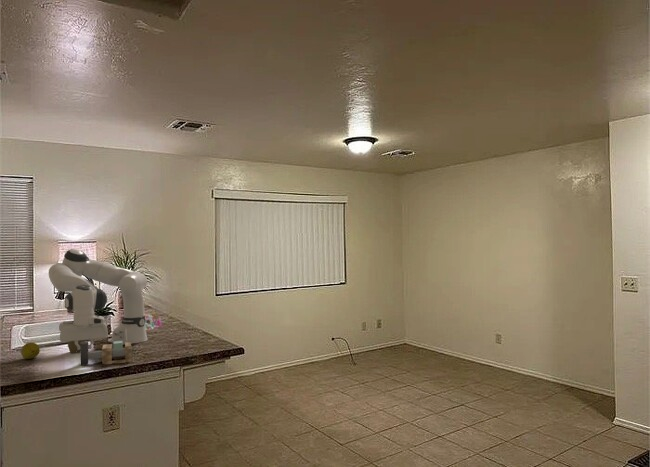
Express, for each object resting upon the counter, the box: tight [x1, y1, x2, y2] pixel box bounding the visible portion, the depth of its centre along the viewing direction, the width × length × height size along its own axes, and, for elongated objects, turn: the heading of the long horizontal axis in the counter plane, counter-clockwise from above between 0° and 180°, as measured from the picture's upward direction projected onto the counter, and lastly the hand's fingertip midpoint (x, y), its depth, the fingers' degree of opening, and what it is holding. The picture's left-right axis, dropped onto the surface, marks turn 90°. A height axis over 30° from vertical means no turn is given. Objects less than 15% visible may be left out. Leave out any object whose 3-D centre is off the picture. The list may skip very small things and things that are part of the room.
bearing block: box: [101, 342, 132, 365], centre depth 227 cm, size 12×9×8 cm
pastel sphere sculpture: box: [144, 312, 163, 332], centre depth 310 cm, size 25×24×9 cm
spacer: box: [112, 341, 124, 351], centre depth 227 cm, size 4×5×4 cm
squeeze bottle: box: [67, 340, 86, 354], centre depth 246 cm, size 8×8×18 cm
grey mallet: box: [79, 340, 134, 366], centre depth 225 cm, size 22×5×10 cm, turn 113°
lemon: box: [20, 342, 40, 360], centre depth 233 cm, size 11×8×8 cm
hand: (84, 349), depth 221 cm, fingers closed on grey mallet, 3 cm apart
